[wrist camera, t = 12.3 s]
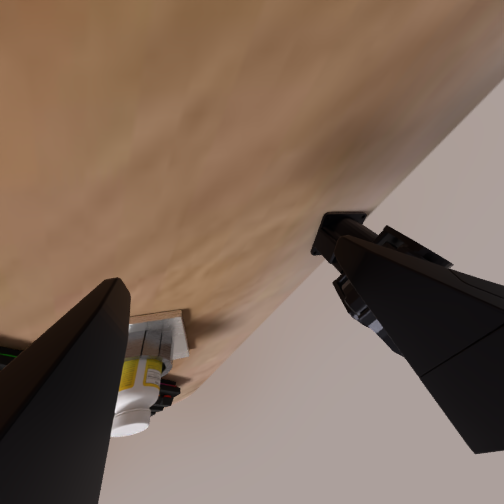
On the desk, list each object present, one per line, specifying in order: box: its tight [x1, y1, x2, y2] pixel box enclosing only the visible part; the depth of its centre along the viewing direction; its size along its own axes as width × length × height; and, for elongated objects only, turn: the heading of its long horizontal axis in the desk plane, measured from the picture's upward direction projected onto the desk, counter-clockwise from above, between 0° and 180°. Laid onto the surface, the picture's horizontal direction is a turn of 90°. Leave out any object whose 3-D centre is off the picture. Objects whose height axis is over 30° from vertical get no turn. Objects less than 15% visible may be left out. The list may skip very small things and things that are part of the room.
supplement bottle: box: [111, 358, 162, 437], centre depth 25 cm, size 5×5×10 cm
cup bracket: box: [124, 310, 189, 377], centre depth 28 cm, size 12×12×5 cm
